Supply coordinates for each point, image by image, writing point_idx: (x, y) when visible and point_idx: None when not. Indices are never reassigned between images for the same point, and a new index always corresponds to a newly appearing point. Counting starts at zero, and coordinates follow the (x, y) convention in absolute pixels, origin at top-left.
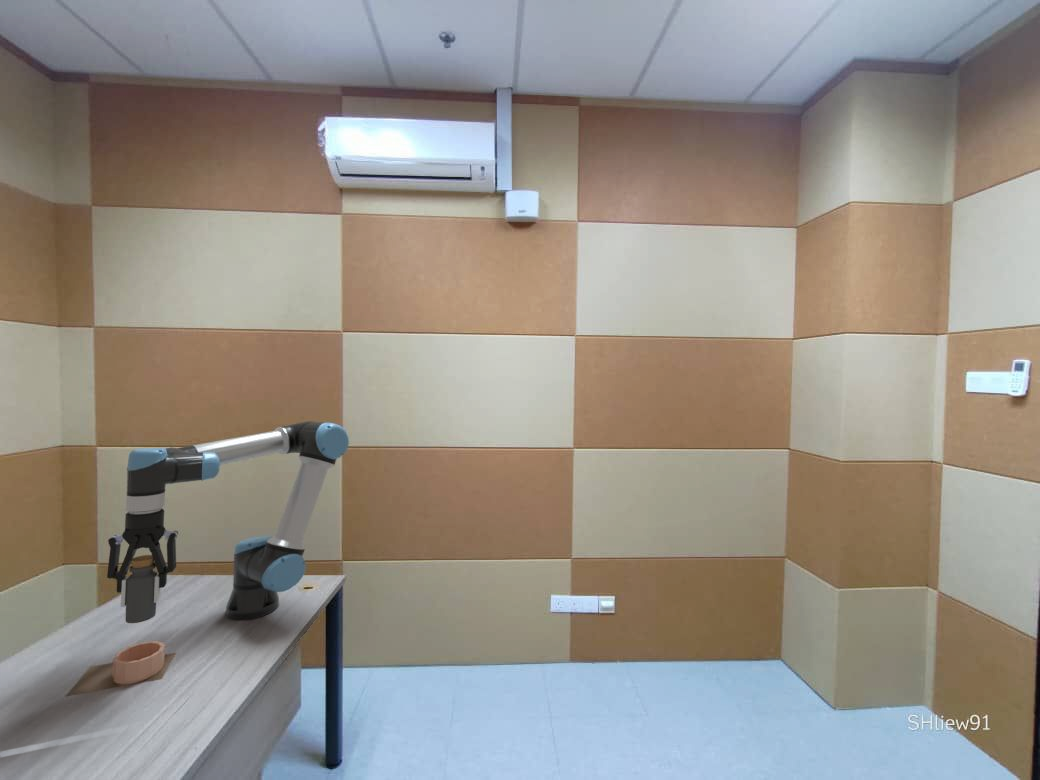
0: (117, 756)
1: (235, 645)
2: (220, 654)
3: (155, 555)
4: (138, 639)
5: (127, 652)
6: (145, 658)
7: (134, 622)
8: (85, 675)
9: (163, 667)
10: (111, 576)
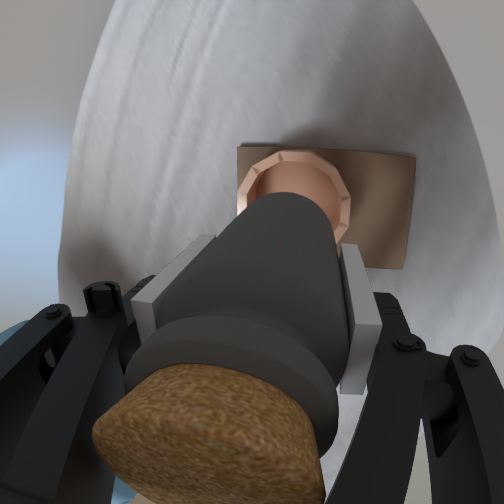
0: None
1: (136, 252)
2: (153, 225)
3: (46, 442)
4: None
5: None
6: (266, 162)
7: (292, 193)
8: (403, 233)
9: None
10: (462, 352)
